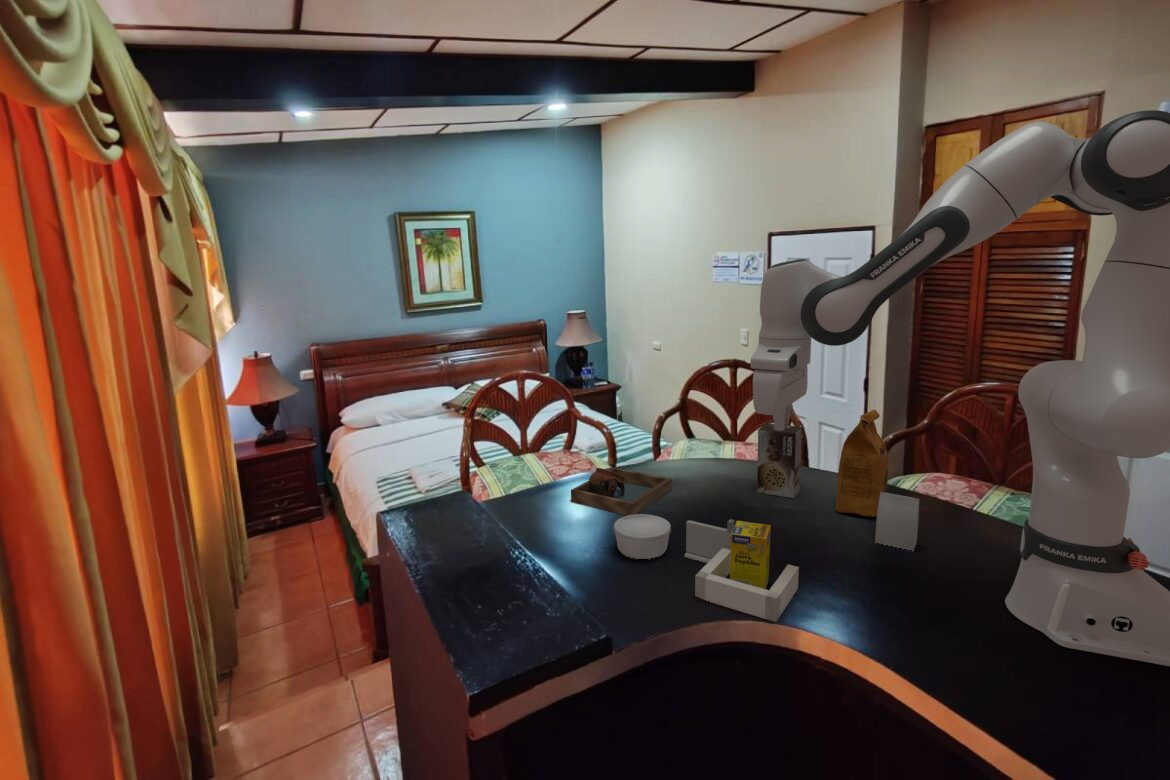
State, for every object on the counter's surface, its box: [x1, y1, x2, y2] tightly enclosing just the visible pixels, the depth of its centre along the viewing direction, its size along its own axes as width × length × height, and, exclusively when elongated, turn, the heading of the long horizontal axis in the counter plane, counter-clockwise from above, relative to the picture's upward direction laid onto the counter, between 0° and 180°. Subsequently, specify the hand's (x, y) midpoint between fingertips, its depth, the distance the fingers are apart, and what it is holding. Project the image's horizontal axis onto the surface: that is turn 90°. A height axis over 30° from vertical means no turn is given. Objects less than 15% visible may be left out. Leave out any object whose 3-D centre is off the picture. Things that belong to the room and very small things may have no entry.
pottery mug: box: [585, 467, 626, 498], centre depth 145 cm, size 12×10×8 cm
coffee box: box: [756, 423, 803, 499], centre depth 145 cm, size 9×6×16 cm
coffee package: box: [835, 409, 889, 518], centre depth 133 cm, size 10×12×22 cm
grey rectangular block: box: [874, 492, 920, 552], centre depth 117 cm, size 4×7×10 cm, turn 54°
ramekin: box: [613, 513, 672, 560], centre depth 119 cm, size 11×11×5 cm
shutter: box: [685, 518, 735, 558], centre depth 113 cm, size 9×1×8 cm, turn 55°
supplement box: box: [729, 520, 772, 590], centre depth 103 cm, size 6×6×11 cm
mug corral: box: [570, 467, 673, 516], centre depth 146 cm, size 17×19×3 cm
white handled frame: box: [684, 548, 800, 623], centre depth 105 cm, size 21×14×4 cm
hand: (781, 428), depth 110 cm, fingers closed
